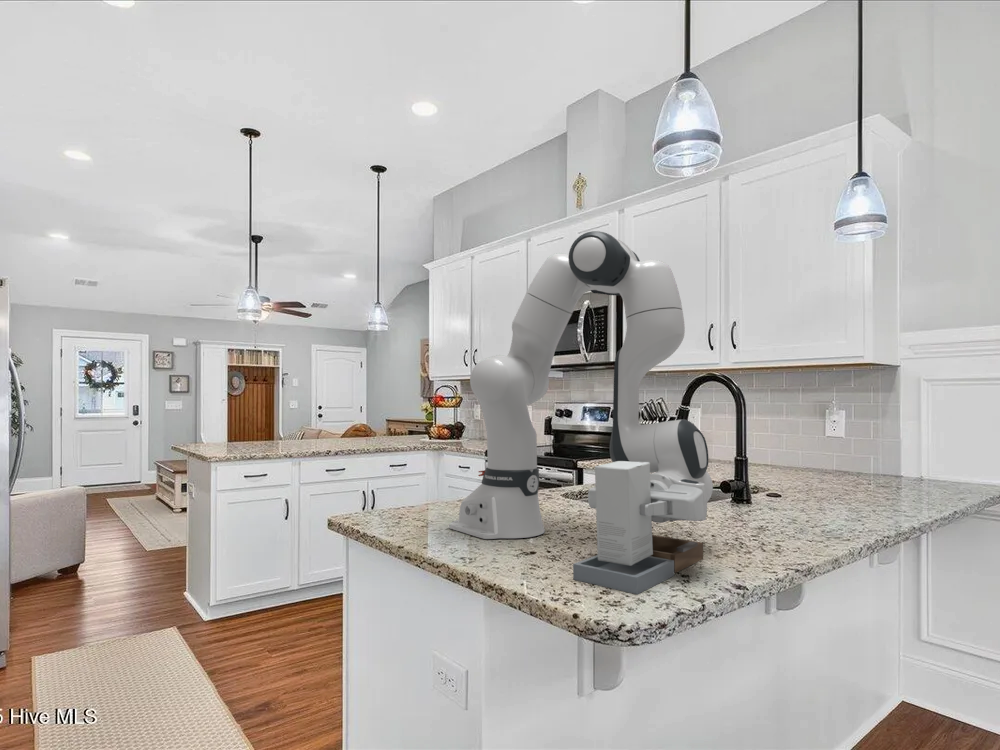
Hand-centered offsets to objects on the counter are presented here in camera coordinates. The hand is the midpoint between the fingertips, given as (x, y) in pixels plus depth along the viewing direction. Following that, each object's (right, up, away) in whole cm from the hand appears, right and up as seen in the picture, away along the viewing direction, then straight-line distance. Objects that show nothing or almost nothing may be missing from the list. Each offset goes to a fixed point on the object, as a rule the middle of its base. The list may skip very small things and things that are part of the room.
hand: (621, 507), depth 99 cm
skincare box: (+1, -9, 0) cm, 9 cm away
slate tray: (0, -12, 0) cm, 12 cm away
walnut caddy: (+9, -12, +10) cm, 18 cm away
